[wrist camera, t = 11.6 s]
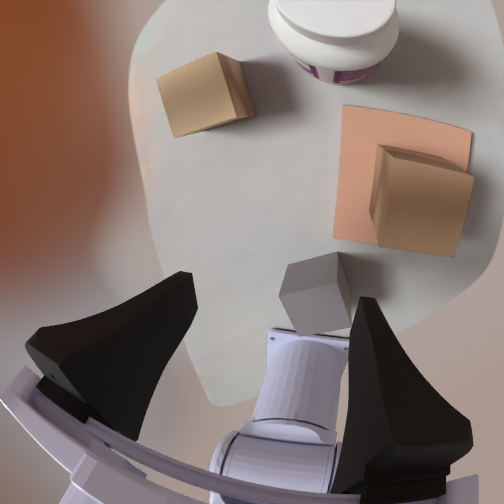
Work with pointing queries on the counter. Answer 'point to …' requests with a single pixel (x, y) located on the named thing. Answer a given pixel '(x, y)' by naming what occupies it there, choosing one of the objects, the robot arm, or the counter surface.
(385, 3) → the pill bottle
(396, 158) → the walnut block
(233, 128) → the counter surface
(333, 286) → the gray block
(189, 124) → the oak block
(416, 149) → the terracotta coaster
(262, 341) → the counter surface
